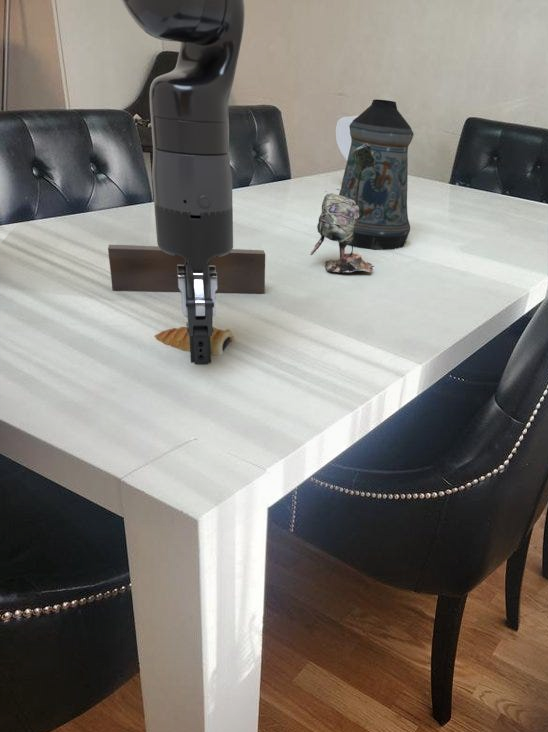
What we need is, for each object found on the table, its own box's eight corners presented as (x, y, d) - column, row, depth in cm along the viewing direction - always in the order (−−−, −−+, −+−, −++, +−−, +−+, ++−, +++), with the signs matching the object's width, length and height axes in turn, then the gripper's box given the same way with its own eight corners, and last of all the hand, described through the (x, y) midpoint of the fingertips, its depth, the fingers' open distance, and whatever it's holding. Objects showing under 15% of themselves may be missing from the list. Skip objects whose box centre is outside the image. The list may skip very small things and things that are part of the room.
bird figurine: (315, 258, 118) (323, 136, 107) (376, 267, 118) (390, 145, 107) (306, 270, 112) (313, 141, 101) (371, 279, 111) (385, 150, 100)
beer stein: (336, 248, 126) (348, 100, 112) (321, 223, 142) (329, 91, 128) (417, 252, 130) (438, 110, 116) (393, 228, 145) (409, 100, 132)
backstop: (112, 290, 94) (107, 248, 90) (113, 286, 95) (108, 244, 92) (264, 293, 99) (265, 253, 96) (262, 289, 101) (263, 250, 98)
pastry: (144, 358, 76) (141, 327, 74) (170, 339, 81) (168, 309, 79) (220, 373, 75) (220, 341, 73) (241, 352, 80) (241, 322, 78)
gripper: (154, 186, 68) (166, 342, 77) (153, 213, 57) (166, 390, 67) (227, 190, 70) (229, 342, 79) (238, 217, 59) (240, 389, 69)
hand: (201, 364), depth 73 cm, fingers closed
